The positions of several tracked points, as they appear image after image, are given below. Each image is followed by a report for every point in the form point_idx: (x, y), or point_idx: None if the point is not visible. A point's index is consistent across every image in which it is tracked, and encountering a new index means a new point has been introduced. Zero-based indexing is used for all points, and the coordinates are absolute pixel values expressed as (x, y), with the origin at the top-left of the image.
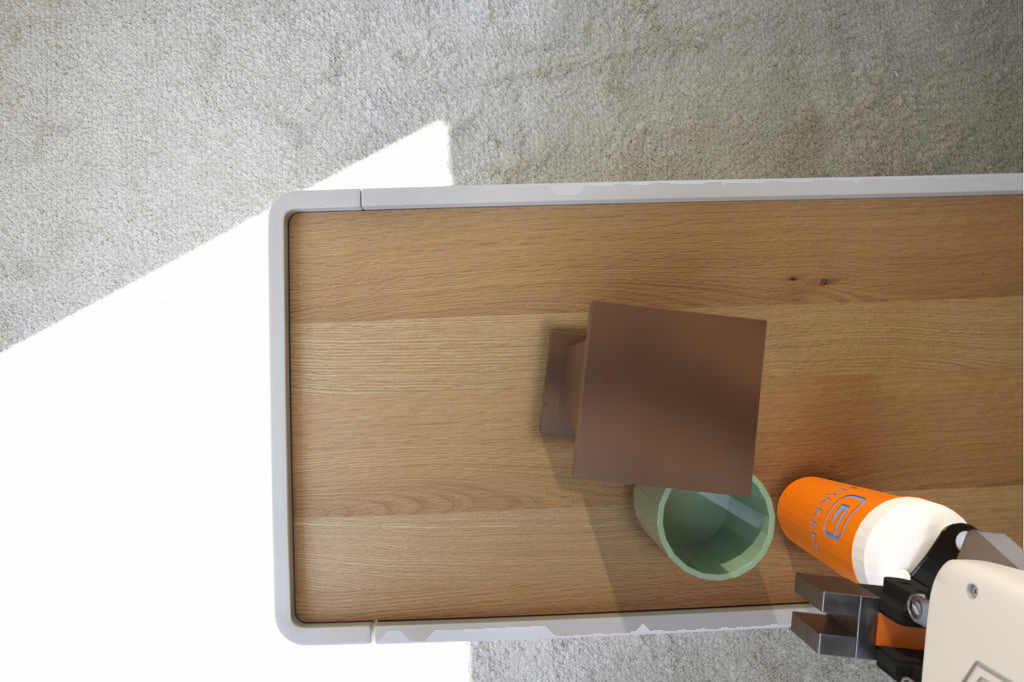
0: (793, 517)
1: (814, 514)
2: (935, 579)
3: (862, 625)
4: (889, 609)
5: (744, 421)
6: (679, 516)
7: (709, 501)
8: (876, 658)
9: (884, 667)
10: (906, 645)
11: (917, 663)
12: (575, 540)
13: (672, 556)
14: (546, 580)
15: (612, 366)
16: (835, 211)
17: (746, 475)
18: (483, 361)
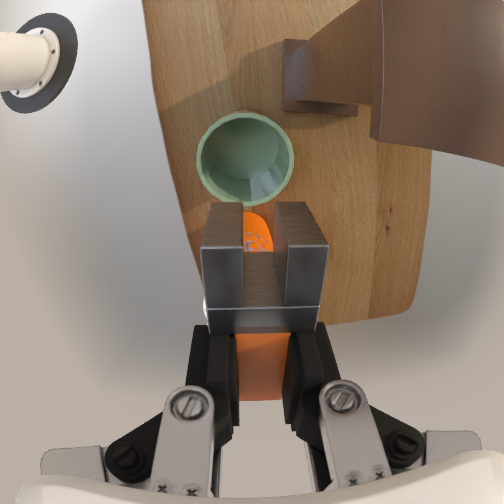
0: (244, 221)
1: (254, 234)
2: (488, 457)
3: (267, 313)
4: (310, 351)
5: (456, 138)
6: (230, 144)
7: (244, 164)
8: (214, 337)
9: (198, 341)
10: (241, 366)
11: (232, 398)
12: (202, 74)
13: (210, 129)
14: (171, 60)
15: (485, 8)
16: (421, 231)
17: (405, 136)
18: (328, 6)
